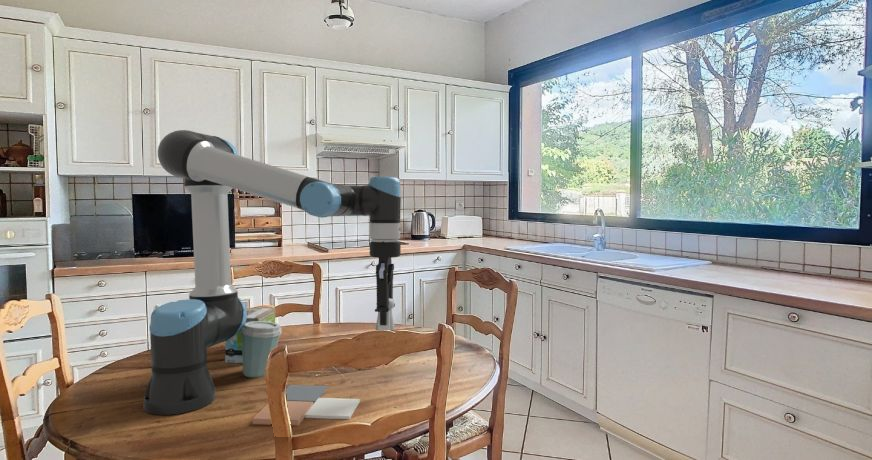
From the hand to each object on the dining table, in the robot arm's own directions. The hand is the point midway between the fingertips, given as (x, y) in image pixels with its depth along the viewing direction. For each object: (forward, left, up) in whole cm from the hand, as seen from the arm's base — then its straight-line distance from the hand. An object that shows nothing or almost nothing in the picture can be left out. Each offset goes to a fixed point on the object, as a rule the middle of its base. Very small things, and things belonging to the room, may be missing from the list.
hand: (385, 335), depth 122 cm
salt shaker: (0, 0, -4) cm, 4 cm away
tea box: (-45, +26, -15) cm, 54 cm away
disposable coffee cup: (-37, +12, -15) cm, 42 cm away
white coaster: (-10, -9, -15) cm, 21 cm away
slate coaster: (-20, -1, -15) cm, 26 cm away
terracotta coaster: (-20, -13, -15) cm, 29 cm away
